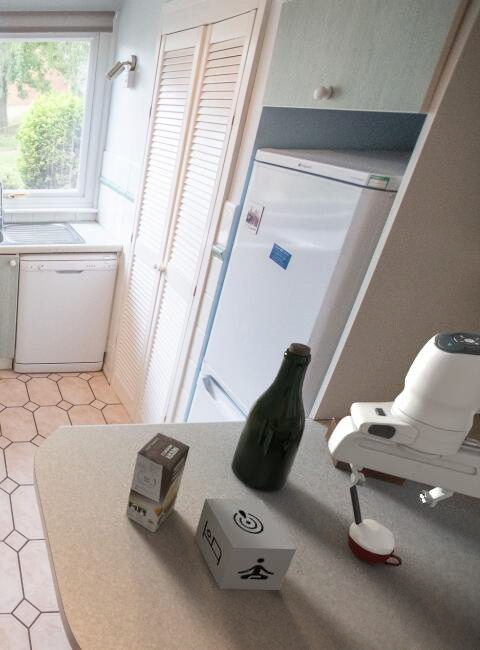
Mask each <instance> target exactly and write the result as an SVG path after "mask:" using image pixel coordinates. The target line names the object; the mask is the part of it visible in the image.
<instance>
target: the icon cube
mask: <svg viewBox="0 0 480 650" xmlns="http://www.w3.org/2000/svg"><path fill="white" fill-rule="evenodd" d="M194 539H195V542H196V544H197V546H198V548H199V550H200V552H201V554H202V556H203V558H204V560H205V562H206V565H207V566H208V569H209V570H210V572H211V574H212V576H213V578H214V580H215V583H216V584H217V586H218V589H221V590H225V589H226V590H227V589H228V590H255V591H259V590H260V591H280V590H281V587H282V584H283V582H284V580H285V577H286V575H287V573H288V571H289V568H290V566H291V563H292V560H293V558H294V557H295V553H296V551H297V548H296V547H295V545H294V544H293V542H292V541H291V540H290V538H289V537H288V535H287V534H286V532H285V531H284V530H283V528H282V527H281V525H280V524H279V522H278V521H277V520H276V519H275V517H274V515H273V514H272V513H271V512H270V510H269V509H268V507H267V506H266V504H265V503H264V501H263V500H262V499H233V498H232V499H231V498H205V499H204V503H203V506H202V509H201V513H200V517H199V520H198V523H197V527H196V531H195V534H194Z"/></svg>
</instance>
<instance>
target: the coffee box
mask: <svg viewBox="0 0 480 650" xmlns="http://www.w3.org/2000/svg"><path fill="white" fill-rule="evenodd" d="M190 448H191V446H189V445H188V444H186V443H183V442H182V441H180V440H177V439H176V438H173V437H171V436H168V435H166V434H164V433H161V432H157V433H156V434H155V435H154V436H153V437H152V438H150V440H149V441H148V442H147V443H146V444H145V445H143V446H142V447H141V449H140V450H138V451H137V455H136V459H135V465H134V470H133V474H132V478H131V479H132V480H131V484H130V490H129V494H128V500H127V505H126V510H125V514H124V515H125V516H126V517H128V518H129V519H131V520H132V521H133V522H136V523H137V524H138V525H140V526H141V527H143V528H145V529H146V530H148V531H150V532H151V533H156V532H157V531H158V529H159V528H160V527H161V525H162V524H163V523H164V521H165V520H166V519H167V518H168V516H169V515H170V514H171V512H173V510H174V509H175V506H176V502H177V498H178V495H179V490H180V486H181V482H182V479H183V474H184V471H185V467H186V463H187V459H188V455H189V451H190Z"/></svg>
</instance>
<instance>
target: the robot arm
mask: <svg viewBox="0 0 480 650" xmlns="http://www.w3.org/2000/svg"><path fill="white" fill-rule="evenodd" d="M476 414H480V333H476V332H470V331H462V330H454V331H453V330H452V331H443V332H439V333H437V334H435V335H434V336H433V337H432V338H430V339H429V340H428V341H427V342H426V344H425V345H424V346H423V347H422V348H421V350H420V351H419V352H418V354H417V355H416V357H415V359H414V361H413V363H412V364H411V366H410V368H409V369H408V372H407V374H406V376H405V379H404V389H403V390H402V391H401V393H400V394H398V395H397V396H396V398H395V399H394V401H381V402H362V401H361V402H354V403H352V405H351V406H350V415H347V416H345V417H343V418H341V419H342V420H341V421H340V422H339V424H338V425H337V426H336V428H335V430H334V431H333V433H332V435H331V437H330V439H329V442H328V444H327V447H328V451H329V454H330V456H331V455H332V456H333V458H334V459H336V460H338V461H342V462H346V463H350V466H351V469H352V471H353V472H351V474H350V476H349V480H350V484H351V485H355V486H356V487H361V488H362V487H364V484H365V483H366V478H365V476H364V474H363V473H359V472H358V471H357V469H358V470H360V471H361V470H362V468H363V467H365V468H368V469H372V470H376V471H379V472H383V473H387V474H391V475H394V476H398V477H402V478H405V479H406V480H409V481H413V482H417V483H420V484H424V485H428V486H431V487H434V488H433V489H431V490H424V489H422V490H421V493H420V494H419V496H418V500H419V502H420V504H421V505H425V506H428V507H431V508H435V507H436V505H437V503H438V502H440V501H442V500H445V499H447V498H450V497H453V495H454V494H455V493H458V494H461V495H465V496H469V497H473V498H477V499H480V440H477V439H474V438H471V437H468V434H469V433H470V431H471V429H472V427H473V425H474V416H475V415H476ZM332 456H331V457H332Z"/></svg>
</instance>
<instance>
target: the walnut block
mask: <svg viewBox="0 0 480 650" xmlns="http://www.w3.org/2000/svg"><path fill="white" fill-rule="evenodd" d="M342 419H343V418H338V417H335V416H334V417H333V416H332V418H331V421H330V424H329V426H328V429H327V431H326V433H325V436H324V438H325V440H326V441H325V442H326V444H327V445H328V442H329V439H330V437H331V435H332V433H333V431H334V430H335V428H336V426H337V425H338V424H339V422H340V421H341V420H342ZM330 456H331V459H332V463H333V466H334V468H335V469H338V470H343V471H346V472H349V473H352V472H353V471H352V469H351V466H350V463H346V462H342V461H338V460H336V459H334V458H333V456H332V455H331V454H330ZM357 471H358V472H359V473H363V474H364V477H369V478H372V479H376V480H380V481H383V482H387V483H391V484H394V485H398V486H402V487H404V484H405V483H406V481H407V479H405V478H402V477H398V476H394V475H391V474H387V473H383V472H379V471H376V470H372V469H368V468H365V467H363V468H362V470H361V471H360V470H358V469H357Z"/></svg>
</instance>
